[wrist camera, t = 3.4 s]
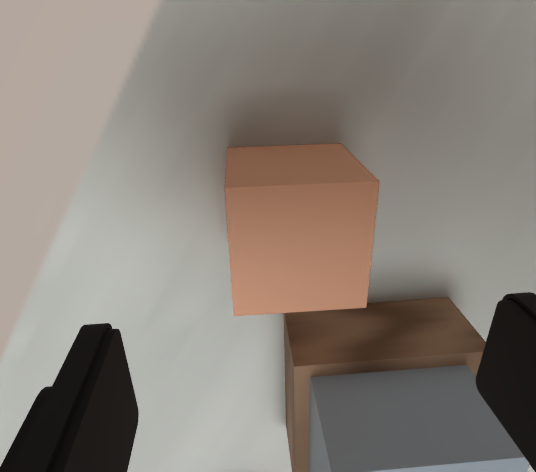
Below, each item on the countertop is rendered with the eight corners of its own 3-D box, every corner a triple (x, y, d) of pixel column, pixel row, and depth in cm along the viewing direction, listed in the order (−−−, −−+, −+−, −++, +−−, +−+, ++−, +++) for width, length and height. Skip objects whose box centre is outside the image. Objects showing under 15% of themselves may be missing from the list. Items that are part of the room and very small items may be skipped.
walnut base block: (445, 294, 25) (493, 351, 20) (423, 410, 29) (458, 477, 24) (283, 305, 24) (294, 366, 20) (285, 421, 28) (294, 493, 24)
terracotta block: (339, 142, 20) (379, 181, 14) (334, 242, 22) (366, 307, 17) (227, 147, 19) (224, 187, 14) (234, 248, 22) (233, 316, 16)
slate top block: (466, 365, 20) (532, 456, 16) (441, 466, 24) (489, 565, 19) (310, 377, 20) (332, 474, 15) (308, 479, 23) (325, 583, 19)
